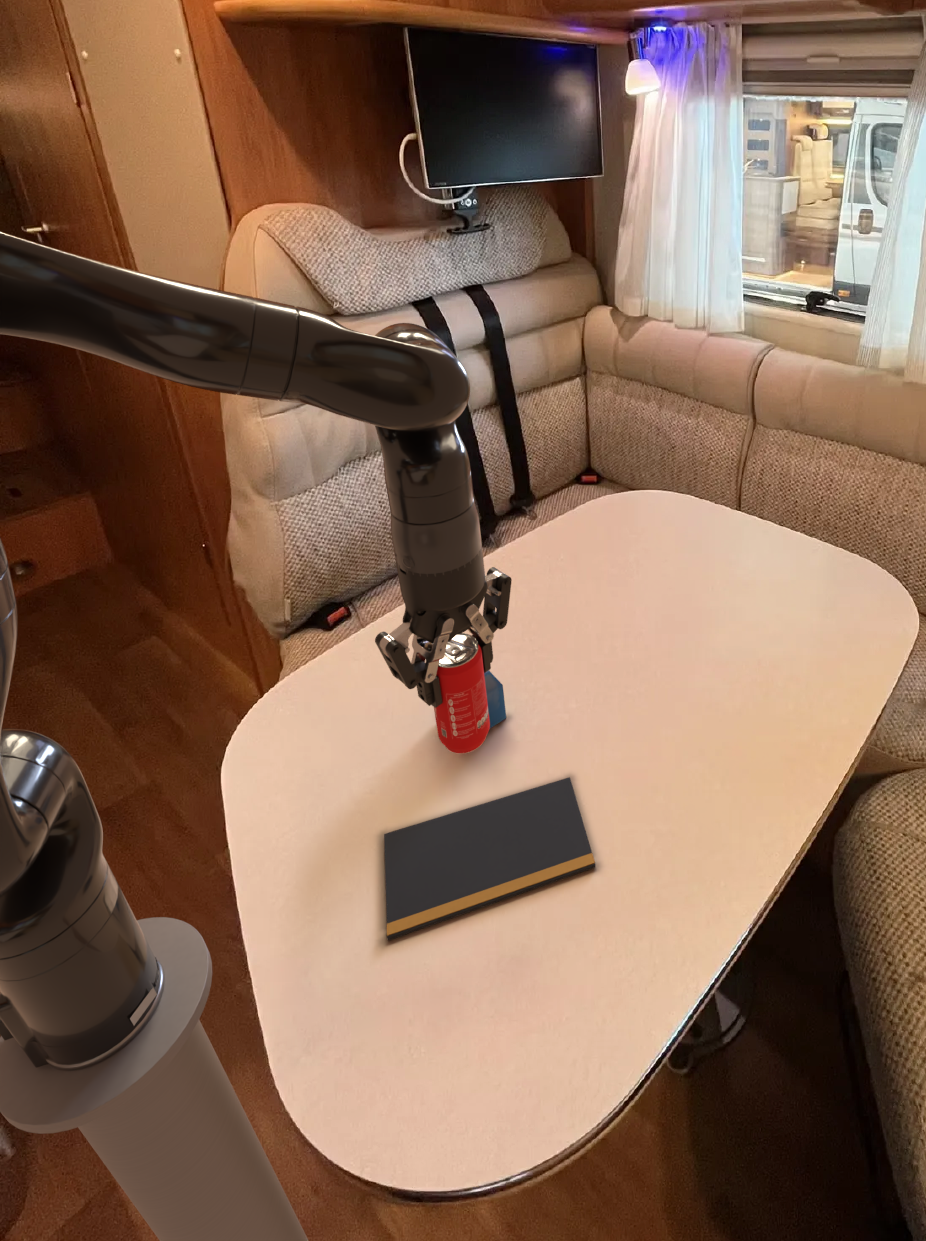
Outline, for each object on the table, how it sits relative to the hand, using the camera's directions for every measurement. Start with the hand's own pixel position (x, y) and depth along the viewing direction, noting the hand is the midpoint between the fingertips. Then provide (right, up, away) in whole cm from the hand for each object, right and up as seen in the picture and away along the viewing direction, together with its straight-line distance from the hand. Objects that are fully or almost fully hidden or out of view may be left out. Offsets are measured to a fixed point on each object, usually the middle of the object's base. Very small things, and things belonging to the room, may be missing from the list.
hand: (457, 683), depth 73 cm
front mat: (0, -23, +10) cm, 25 cm away
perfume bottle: (-6, -14, +27) cm, 31 cm away
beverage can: (0, -7, +3) cm, 8 cm away
